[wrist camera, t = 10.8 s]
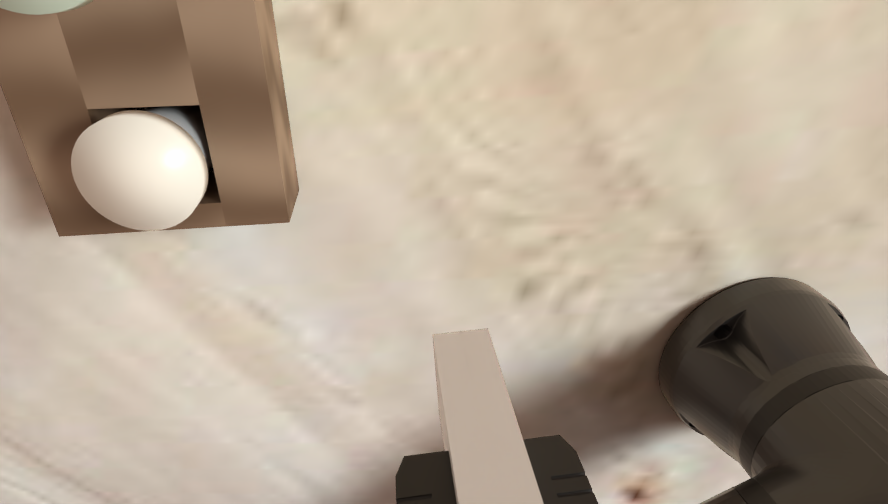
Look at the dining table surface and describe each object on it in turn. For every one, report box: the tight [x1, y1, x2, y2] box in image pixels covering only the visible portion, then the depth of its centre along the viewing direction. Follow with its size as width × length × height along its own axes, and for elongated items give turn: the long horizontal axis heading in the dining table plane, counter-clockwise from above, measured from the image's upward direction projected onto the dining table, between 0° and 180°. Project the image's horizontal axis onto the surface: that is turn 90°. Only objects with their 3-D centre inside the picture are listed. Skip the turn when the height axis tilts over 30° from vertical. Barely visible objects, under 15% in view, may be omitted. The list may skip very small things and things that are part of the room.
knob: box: [71, 105, 213, 231], centre depth 28 cm, size 6×6×7 cm
